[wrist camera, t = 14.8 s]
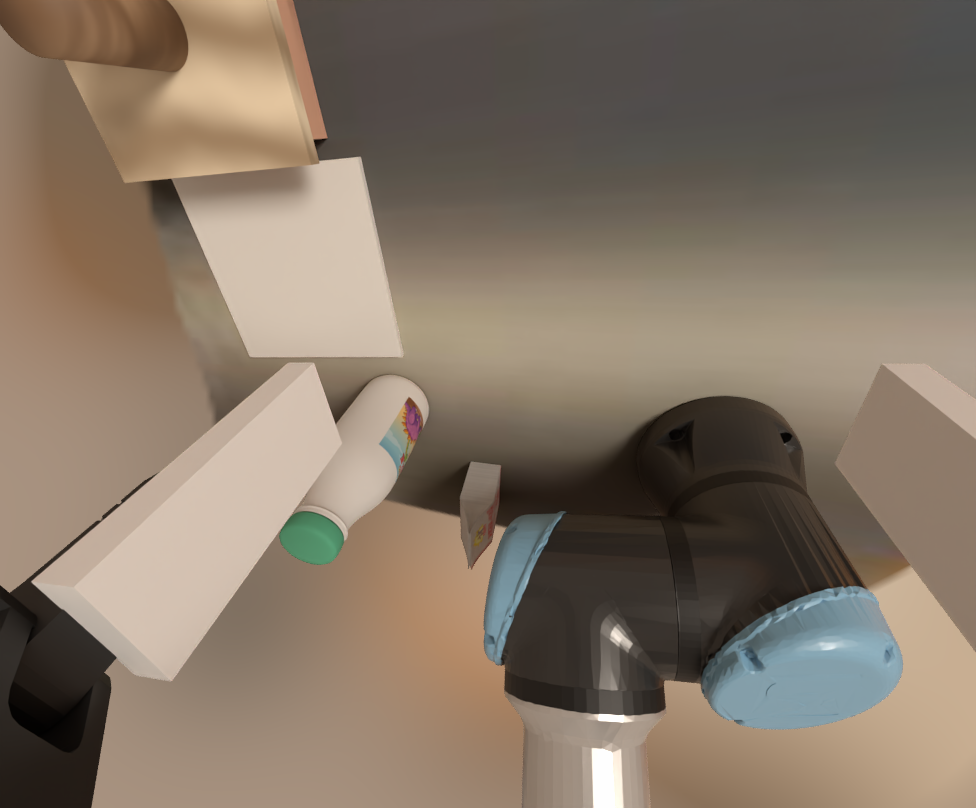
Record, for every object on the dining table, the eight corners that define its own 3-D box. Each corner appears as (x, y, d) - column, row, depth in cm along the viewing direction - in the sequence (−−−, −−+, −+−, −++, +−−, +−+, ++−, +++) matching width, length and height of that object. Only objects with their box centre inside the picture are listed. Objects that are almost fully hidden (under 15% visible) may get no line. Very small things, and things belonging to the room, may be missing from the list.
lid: (319, 163, 31) (236, 178, 23) (137, 181, 34) (12, 199, 26) (225, -189, 22) (44, -348, 14) (-9, -123, 25) (-259, -226, 18)
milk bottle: (358, 411, 50) (252, 554, 34) (375, 360, 45) (262, 496, 29) (418, 438, 51) (343, 591, 34) (440, 391, 46) (366, 540, 30)
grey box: (471, 500, 55) (452, 566, 47) (470, 461, 51) (451, 526, 43) (499, 504, 55) (485, 572, 46) (500, 465, 51) (486, 531, 43)
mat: (403, 354, 44) (401, 357, 44) (253, 354, 48) (250, 357, 47) (360, 156, 35) (357, 157, 34) (175, 174, 38) (170, 175, 38)
